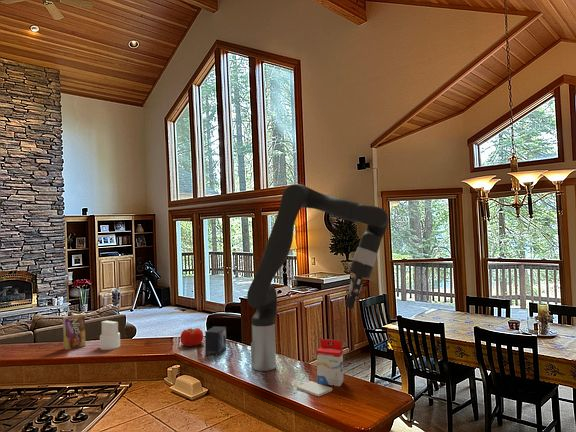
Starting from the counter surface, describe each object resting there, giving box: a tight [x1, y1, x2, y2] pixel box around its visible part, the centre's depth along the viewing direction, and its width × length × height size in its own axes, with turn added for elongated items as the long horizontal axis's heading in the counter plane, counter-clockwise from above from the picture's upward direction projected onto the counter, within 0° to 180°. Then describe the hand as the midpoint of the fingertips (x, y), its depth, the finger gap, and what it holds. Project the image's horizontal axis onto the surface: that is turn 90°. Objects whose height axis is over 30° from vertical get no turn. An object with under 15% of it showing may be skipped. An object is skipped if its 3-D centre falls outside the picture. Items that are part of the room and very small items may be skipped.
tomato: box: [179, 327, 204, 348], centre depth 204 cm, size 11×11×8 cm
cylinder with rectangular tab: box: [99, 320, 121, 351], centre depth 204 cm, size 9×9×12 cm
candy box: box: [62, 313, 86, 351], centre depth 205 cm, size 9×4×15 cm, turn 133°
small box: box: [204, 325, 227, 357], centre depth 191 cm, size 11×6×10 cm, turn 168°
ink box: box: [316, 338, 344, 387], centre depth 150 cm, size 8×5×15 cm, turn 68°
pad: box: [296, 380, 333, 397], centre depth 144 cm, size 10×7×1 cm
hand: (348, 306), depth 148 cm, fingers open, 8 cm apart
